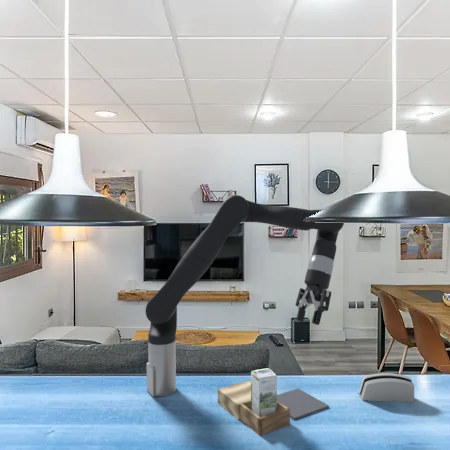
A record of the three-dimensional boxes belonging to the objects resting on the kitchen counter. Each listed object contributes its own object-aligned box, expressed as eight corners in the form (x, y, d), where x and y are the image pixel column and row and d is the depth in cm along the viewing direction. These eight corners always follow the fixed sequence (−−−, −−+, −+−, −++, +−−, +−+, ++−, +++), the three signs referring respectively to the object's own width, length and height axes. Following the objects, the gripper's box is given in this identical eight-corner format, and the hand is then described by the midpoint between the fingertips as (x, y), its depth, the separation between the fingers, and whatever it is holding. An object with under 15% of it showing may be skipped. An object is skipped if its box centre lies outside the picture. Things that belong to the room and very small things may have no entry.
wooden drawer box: (291, 424, 109) (291, 408, 109) (257, 436, 103) (257, 420, 102) (249, 393, 127) (248, 380, 127) (217, 402, 121) (217, 388, 121)
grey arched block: (408, 394, 126) (413, 370, 122) (414, 406, 122) (418, 381, 118) (357, 393, 127) (359, 369, 124) (360, 404, 123) (363, 380, 119)
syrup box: (267, 414, 114) (267, 366, 114) (277, 424, 108) (277, 374, 108) (250, 418, 112) (250, 369, 112) (259, 428, 106) (259, 377, 106)
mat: (294, 420, 111) (294, 418, 111) (265, 400, 123) (265, 398, 123) (328, 407, 118) (328, 405, 118) (298, 390, 130) (298, 388, 130)
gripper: (297, 268, 125) (285, 317, 121) (323, 267, 112) (310, 321, 108) (315, 275, 127) (304, 323, 123) (343, 275, 114) (331, 328, 110)
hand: (307, 322), depth 116 cm, fingers open, 8 cm apart
